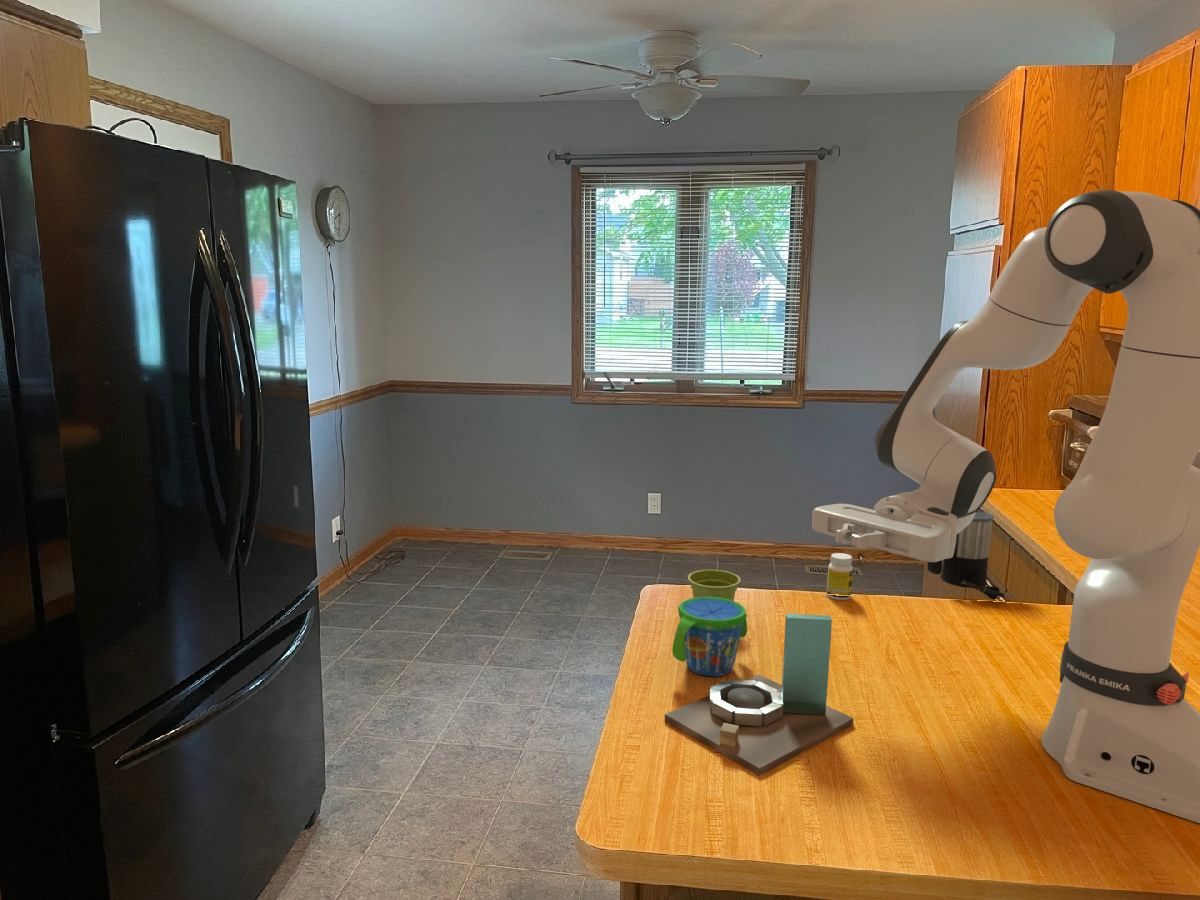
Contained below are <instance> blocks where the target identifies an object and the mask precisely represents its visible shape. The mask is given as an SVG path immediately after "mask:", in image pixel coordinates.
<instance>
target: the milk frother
mask: <svg viewBox="0 0 1200 900" xmlns="http://www.w3.org/2000/svg"><path fill="white" fill-rule="evenodd" d="M994 519H995V515H993V514H992V513H990V512H987V511H984V510H980V509H979V510H978V511H977V512H976V513H975V516H974V518H973V520H972V521H971V523H970V524H969V525H968V526H967V527H966V528H965V529H963V530H962V531H961V532H959V533H958V534H957V536H956V544H955V550H954V554H953V557H952V558H949V559H944V560H941V561H938V562H927V571H928V572H930V573H932V574H933V575H939V578H940V580H941V581H942V582H944V583H946V584H948V585H952V586H955V587H960V588H968V589H974V590H977V591H979V592H980V593H983V594H984V595H985V596H986V597H988V598H989V599H991V600H995V601H996V600H997V599H998V597H999V598H1004V597H1005V593H1003V591H1002V590H1000V587H999V586H995V585H991V586H989V585H988V576H987V575H988V563H989V555H990V554H989V553H990V546H991V539H992V537H991V536H992V528H993V520H994Z"/></svg>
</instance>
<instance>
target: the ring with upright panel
mask: <svg viewBox="0 0 1200 900" xmlns="http://www.w3.org/2000/svg"><path fill="white" fill-rule="evenodd" d="M784 624H785V625H784V627H785V628H784V642H783V643H784V644H783V658H782V661H783V662H782V673H781V674H782V675H781V685H782V692H779V690H776V689H774V688H772V687H770V686H768V685H766V684H764V683H762V682H757V683H756V681H754V680H746V679H734V678H731V680H730V679H726V680H724V681H721V682H719V683H716V684H715V685H714V684H713V685H711V687H710V688H709V695H710V711H712V713H713V714H714V715H716V716H718V717H720V718H722V719H724V720H726V721H727V722H729V723H733V722H734V723H735V724H737V725H753V726H761V725H762V724H763V725H767V724H769V723H771V722H773V721H775V720H777V719H779V718H781V717H782V716H783V712H791V713H808V714H825V715H826V706H827V700H828V699H827V697H828V686H829V682H828V681H829V669H830V667H829V666H830V655H831V654H830V652H831V638H832V626H833V619H832V617H831V615H819V614H804V613H803V614H801V613H800V614H799V613H785V623H784ZM736 688H750V689H754V690H757V691H759V692H760V693H761V694H762V695H763V696H764V701H766V702H768V703H770V704H769V705H767V706H765V707H763V708H760V709H747V708H736V707H734V706H732V705H730V704H728V703H726V702H724V701H722V699H724V698H726V697H728V693H729V692H730V691H731V690H733V689H736Z"/></svg>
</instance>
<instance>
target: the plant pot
mask: <svg viewBox="0 0 1200 900" xmlns="http://www.w3.org/2000/svg"><path fill="white" fill-rule="evenodd" d="M687 580H688V582H689V583H690V589H691V590H692V598H695V597H718V598H724V599H728V600H732V601H735V595H736V591H737V589H738V585H739V584H741V577H740V576H739V575H738V574H735V573H733V572H731V571H726V570H719V569H701V570H696V571H692V572H691V573H689V574H688V575H687Z"/></svg>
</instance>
